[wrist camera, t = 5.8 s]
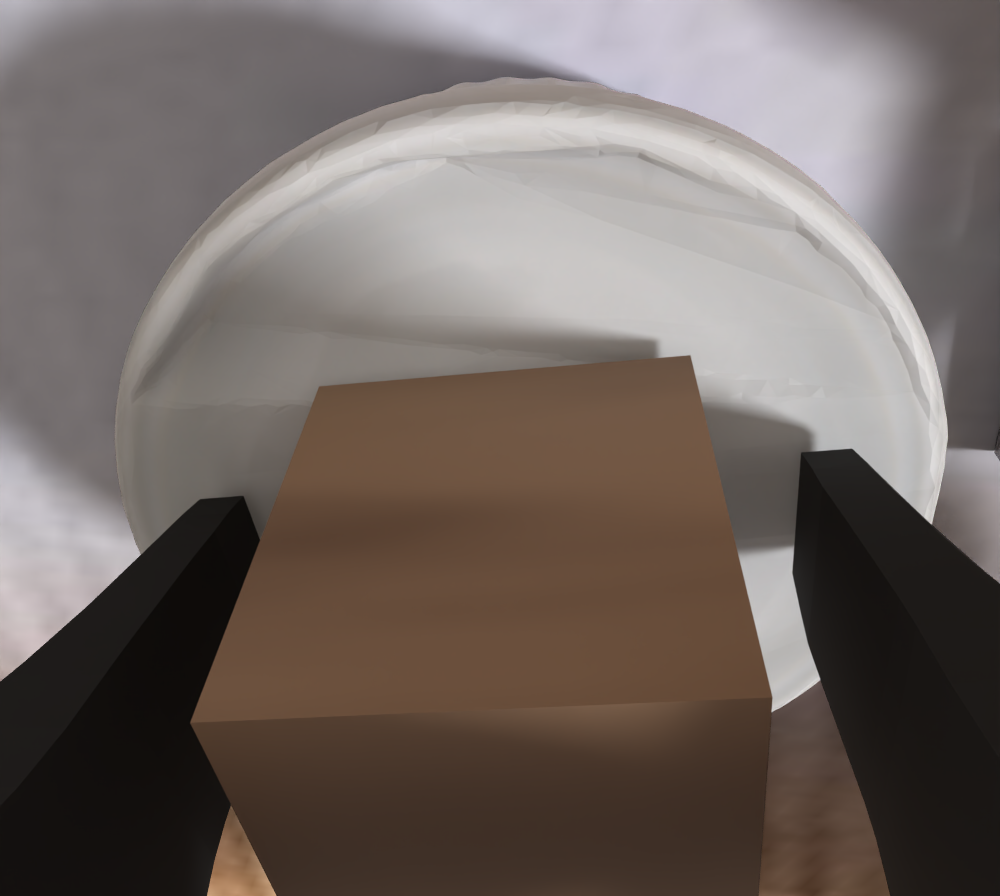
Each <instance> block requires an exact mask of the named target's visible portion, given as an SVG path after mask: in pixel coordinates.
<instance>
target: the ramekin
mask: <svg viewBox="0 0 1000 896" xmlns="http://www.w3.org/2000/svg"><path fill="white" fill-rule="evenodd" d="M687 355H691V360H692V364H693V368H694V372H695V376H696V380H697V385H698V389H699V393H700V397H701V401H702V405H703V410H704V414H705V418H706V422H707V426H708V430H709V435H710V439H711V443H712V447H713V451H714V455H715V460H716V464H717V468H718V472H719V476H720V480H721V485H722V489H723V493H724V497H725V501H726V505H727V510H728V514H729V518H730V522H731V526H732V530H733V535H734V539H735V543H736V547H737V551H738V555H739V560H740V564H741V568H742V572H743V576H744V580H745V585H746V589H747V593H748V597H749V601H750V605H751V610H752V614H753V618H754V622H755V626H756V630H757V635H758V639H759V643H760V647H761V651H762V655H763V660H764V664H765V668H766V672H767V676H768V680H769V685H770V689H771V693H772V697H773V699H772V712H773V711H775V710H777V709H779V708H781V707H782V706H784V705H786V704H787V703H789V702H790V701H792V700H793V699H795V698H796V697H798V696H799V695H801V694H802V693H804V692H805V691H807V690H808V689H809V688H811V687H812V686H813V685H815V684H816V683H817V682H818V681H820V677H819V674H818V671H817V669H816V666H815V663H814V660H813V657H812V654H811V651H810V649H809V646H808V642H807V638H806V633H805V629H804V625H803V620H802V616H801V612H800V607H799V602H798V598H797V593H796V588H795V584H794V579H793V574H792V569H793V556H794V542H795V528H796V514H797V501H798V487H799V473H800V459H801V452H813V451H826V450H839V449H853V450H854V451H855V452H856V453H858V454H859V455H860V456H861V457H862V458H863V459H864V460H865V461H866V462H867V463H868V464H869V465H870V466H871V467H872V468H873V469H874V470H875V471H876V472H877V473H878V474H879V475H880V476H881V477H882V478H883V479H885V480H886V481H887V482H888V483H889V484H890V485H891V486H892V487H893V488H894V489H895V490H896V491H897V492H898V493H899V494H900V495H901V496H902V497H903V498H904V499H905V500H906V501H907V502H908V503H909V504H910V505H911V506H912V507H913V508H915V509H916V510H917V511H918V512H919V513H920V514H921V515H922V516H923V517H924V518H925V519H926V520H927V521H928V522H929V523H931V524H932V521H933V517H934V513H935V508H936V504H937V500H938V496H939V492H940V487H941V482H942V477H943V472H944V467H945V455H946V448H947V441H948V429H947V417H946V411H945V406H944V399H943V393H942V387H941V383H940V379H939V375H938V371H937V366H936V362H935V359H934V356H933V352H932V349H931V346H930V343H929V340H928V337H927V335H926V333H925V330H924V328H923V326H922V324H921V321H920V319H919V317H918V315H917V313H916V310H915V308H914V306H913V304H912V302H911V300H910V298H909V296H908V295H907V293H906V291H905V289H904V288H903V286H902V284H901V282H900V280H899V279H898V277H897V276H896V274H895V272H894V271H893V269H892V268H891V266H890V265H889V263H888V262H887V260H886V259H885V257H884V256H883V254H882V253H881V252H880V250H879V249H878V247H877V246H876V245H875V244H874V243H873V242H872V240H871V239H870V238H869V237H868V236H867V234H866V233H865V232H864V231H863V230H862V228H861V227H860V226H859V225H858V224H857V222H856V221H855V220H854V219H853V218H852V217H851V216H850V215H849V214H848V213H847V212H846V211H845V210H844V209H843V208H842V207H841V206H840V205H839V204H838V203H837V202H836V201H835V200H834V199H833V198H832V197H831V196H830V195H829V194H828V193H827V192H826V191H825V190H824V189H823V188H822V187H821V186H820V185H819V184H818V183H816V182H815V181H814V180H813V179H811V178H810V177H809V176H807V175H806V174H805V173H804V172H802V171H801V170H800V169H799V168H797V167H796V166H794V165H793V164H791V163H790V162H788V161H787V160H785V159H784V158H783V157H781V156H780V155H778V154H776V153H775V152H773V151H772V150H770V149H768V148H766V147H765V146H763V145H761V144H759V143H757V142H756V141H754V140H752V139H750V138H749V137H747V136H745V135H743V134H741V133H739V132H737V131H735V130H733V129H731V128H729V127H727V126H725V125H723V124H720V123H718V122H715V121H713V120H710V119H708V118H705V117H703V116H700V115H698V114H695V113H693V112H690V111H688V110H685V109H682V108H678V107H675V106H671V105H668V104H664V103H661V102H657V101H654V100H650V99H647V98H644V97H642V96H640V95H638V94H631V93H623V92H618V91H614V90H611V89H609V88H607V87H605V86H602V85H600V84H598V83H593V82H578V81H567V80H562V79H557V78H551V77H546V78H536V79H521V78H513V77H501V78H497V79H493V80H489V81H486V82H478V83H473V82H466V83H459V84H456V85H454V86H452V87H450V88H448V89H446V90H444V91H440V92H436V93H431V94H423V95H419V96H417V97H413V98H410V99H406V100H403V101H399V102H395V103H392V104H388V105H384V106H381V107H379V108H376V109H373V110H371V111H368V112H366V113H363V114H361V115H358V116H356V117H353V118H351V119H348V120H346V121H343V122H341V123H339V124H337V125H335V126H333V127H331V128H329V129H327V130H325V131H323V132H322V133H320V134H318V135H316V136H314V137H312V138H311V139H309V140H307V141H305V142H304V143H302V144H300V145H299V146H297V147H295V148H294V149H292V150H290V151H289V152H287V153H285V154H284V155H282V156H280V157H279V158H277V159H275V160H274V161H272V162H271V163H269V164H268V165H267V166H265V167H264V168H263V169H262V170H260V171H259V172H258V173H257V174H255V175H254V176H253V177H251V178H250V179H249V180H248V181H247V182H246V183H244V184H243V185H242V186H241V187H240V188H239V189H237V190H236V191H235V192H234V193H233V194H231V195H230V196H229V197H228V198H227V199H226V200H224V201H223V202H222V203H221V205H220V206H219V207H218V208H217V209H216V210H215V211H214V212H213V213H212V214H211V215H210V216H209V218H208V219H207V220H206V221H205V222H204V223H203V224H202V225H201V226H200V227H199V228H198V230H197V231H196V232H195V233H194V234H193V235H192V236H191V238H190V239H189V240H188V242H187V243H186V244H185V246H184V247H183V248H182V250H181V251H180V252H179V254H178V255H177V256H176V258H175V259H174V260H173V262H172V263H171V265H170V266H169V268H168V270H167V271H166V273H165V274H164V276H163V278H162V279H161V281H160V282H159V284H158V286H157V287H156V289H155V291H154V293H153V295H152V296H151V298H150V300H149V302H148V304H147V305H146V307H145V309H144V311H143V313H142V316H141V318H140V320H139V322H138V324H137V327H136V329H135V331H134V334H133V337H132V340H131V342H130V345H129V348H128V350H127V354H126V358H125V362H124V366H123V370H122V373H121V378H120V385H119V391H118V398H117V405H116V413H115V438H114V440H115V452H116V464H117V475H118V480H119V485H120V491H121V496H122V502H123V507H124V510H125V513H126V517H127V519H128V522H129V525H130V527H131V530H132V533H133V536H134V539H135V542H136V545H137V547H138V549H139V551H140V553H141V554H142V553H143V552H144V551H145V550H146V549H147V548H148V547H149V546H150V545H151V544H152V543H154V542H155V541H156V540H157V539H158V538H159V537H160V536H161V535H162V534H163V533H164V532H165V531H166V530H167V529H168V528H169V527H170V526H171V525H172V524H173V523H174V522H175V521H176V520H177V519H178V518H179V517H180V516H182V515H183V514H184V513H185V512H186V511H187V510H188V509H189V508H190V507H191V506H193V505H194V504H195V503H196V502H197V501H198V500H200V499H208V498H221V497H233V496H244V498H245V501H246V504H247V506H248V509H249V512H250V514H251V517H252V520H253V522H254V525H255V528H256V530H257V533H258V536H259V538H260V539H261V537H262V534H263V531H264V529H265V526H266V524H267V521H268V518H269V516H270V513H271V511H272V508H273V505H274V503H275V500H276V497H277V495H278V492H279V490H280V487H281V484H282V482H283V479H284V477H285V474H286V471H287V469H288V466H289V464H290V461H291V458H292V456H293V453H294V451H295V448H296V445H297V443H298V440H299V437H300V435H301V432H302V430H303V427H304V424H305V422H306V419H307V417H308V414H309V411H310V409H311V406H312V404H313V401H314V398H315V396H316V393H317V391H318V388H319V386H329V385H341V384H353V383H365V382H377V381H389V380H401V379H413V378H425V377H437V376H449V375H460V374H472V373H484V372H496V371H508V370H520V369H532V368H544V367H556V366H568V365H580V364H592V363H604V362H615V361H627V360H639V359H651V358H663V357H675V356H687Z"/></svg>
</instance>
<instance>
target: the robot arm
mask: <svg viewBox="0 0 1000 896" xmlns="http://www.w3.org/2000/svg"><path fill="white" fill-rule="evenodd" d="M259 542H260V538H259V536H258V533H257V530H256V528H255V525H254V522H253V520H252V517H251V514H250V512H249V509H248V506H247V504H246V501H245V498H244V496H233V497H221V498H208V499H200V500H198V501H197V502H196V503H195V504H194V505H193V506H191V507H190V508H189V509H188V510H187V511H186V512H185V513H184V514H183V515H182V516H180V517H179V518H178V519H177V520H176V521H175V522H174V523H173V524H172V525H171V526H170V527H169V528H168V529H167V530H166V531H165V532H164V533H163V534H162V535H161V536H160V537H159V538H158V539H157V540H156V541H155V542H154V543H152V544H151V545H150V546H149V547H148V548H147V549H146V550H145V551H144V552H143V553H142V554H141V555H140V556H139V557H138V558H137V559H136V560H135V561H134V562H133V563H132V564H131V565H130V566H129V567H128V568H127V569H126V570H125V571H124V572H123V573H122V574H121V575H119V576H118V577H117V578H116V579H115V580H114V581H113V582H112V583H111V584H110V585H109V586H108V587H107V588H106V589H105V590H104V591H103V592H102V593H101V594H100V595H99V596H98V597H97V598H95V599H94V600H93V601H92V602H91V603H90V604H89V605H88V606H87V607H86V608H85V609H84V610H83V611H81V612H80V613H79V614H78V615H77V616H76V617H75V618H74V619H72V620H71V621H70V622H69V623H68V624H67V625H66V626H64V627H63V628H62V629H61V630H60V631H59V632H58V633H57V634H55V635H54V636H53V637H52V638H51V639H50V640H49V641H48V642H46V643H45V644H44V645H43V646H42V647H41V648H40V649H38V650H37V651H36V652H35V653H34V654H33V655H32V656H31V657H29V658H28V659H27V660H26V661H25V662H24V663H22V664H21V665H20V666H19V667H18V668H16V669H15V670H14V671H13V672H12V673H10V674H9V675H8V676H7V677H5V678H4V679H3V680H2V681H0V896H207V892H208V888H209V883H210V878H211V874H212V869H213V864H214V860H215V856H216V853H217V849H218V846H219V842H220V839H221V835H222V831H223V828H224V824H225V821H226V818H227V815H228V812H229V809H230V806H231V803H230V801H229V799H228V797H227V795H226V793H225V791H224V789H223V787H222V785H221V783H220V781H219V779H218V777H217V775H216V773H215V771H214V769H213V767H212V765H211V763H210V761H209V759H208V757H207V755H206V753H205V751H204V749H203V747H202V745H201V744H200V742H199V740H198V738H197V736H196V734H195V732H194V730H193V728H192V726H191V724H190V722H191V719H192V717H193V714H194V711H195V709H196V706H197V704H198V701H199V698H200V696H201V693H202V690H203V688H204V685H205V683H206V680H207V677H208V675H209V672H210V670H211V667H212V664H213V662H214V659H215V657H216V654H217V651H218V649H219V646H220V644H221V641H222V638H223V636H224V633H225V630H226V628H227V625H228V623H229V620H230V617H231V615H232V612H233V610H234V607H235V604H236V602H237V599H238V597H239V594H240V591H241V589H242V586H243V584H244V581H245V578H246V576H247V573H248V571H249V568H250V565H251V563H252V560H253V557H254V555H255V552H256V550H257V547H258V544H259ZM792 574H793V579H794V584H795V588H796V593H797V598H798V602H799V607H800V612H801V616H802V620H803V625H804V629H805V633H806V638H807V642H808V646H809V649H810V651H811V654H812V657H813V660H814V663H815V666H816V669H817V671H818V674H819V677H820V680H821V683H822V685H823V688H824V691H825V694H826V697H827V700H828V702H829V705H830V708H831V711H832V713H833V716H834V719H835V722H836V724H837V727H838V730H839V733H840V735H841V738H842V741H843V744H844V746H845V749H846V752H847V755H848V758H849V760H850V763H851V766H852V769H853V771H854V774H855V777H856V780H857V782H858V785H859V788H860V791H861V793H862V796H863V799H864V802H865V805H866V808H867V811H868V814H869V818H870V821H871V824H872V827H873V830H874V834H875V837H876V840H877V844H878V848H879V852H880V856H881V860H882V864H883V868H884V872H885V876H886V880H887V884H888V888H889V892H890V896H1000V584H999V583H998V582H997V581H996V580H995V579H993V578H992V577H991V576H990V575H989V574H987V573H986V572H985V571H984V570H983V569H981V568H980V567H979V566H978V565H977V564H975V563H974V562H973V561H972V560H971V559H970V558H969V557H968V556H966V555H965V554H964V553H963V552H962V551H961V550H960V549H958V548H957V547H956V546H955V545H954V544H953V543H952V542H951V541H949V540H948V539H947V538H946V537H945V536H944V535H943V534H941V533H940V532H939V531H938V530H937V529H936V528H935V527H934V526H933V525H932V524H931V523H929V522H928V521H927V520H926V519H925V518H924V517H923V516H922V515H921V514H920V513H919V512H918V511H917V510H916V509H915V508H913V507H912V506H911V505H910V504H909V503H908V502H907V501H906V500H905V499H904V498H903V497H902V496H901V495H900V494H899V493H898V492H897V491H896V490H895V489H894V488H893V487H892V486H891V485H890V484H889V483H888V482H887V481H886V480H885V479H883V478H882V477H881V476H880V475H879V474H878V473H877V472H876V471H875V470H874V469H873V468H872V467H871V466H870V465H869V464H868V463H867V462H866V461H865V460H864V459H863V458H862V457H861V456H860V455H859V454H858V453H856V452H855V451H854V450H853V449H839V450H826V451H813V452H801V459H800V473H799V487H798V501H797V514H796V528H795V542H794V556H793V569H792Z"/></svg>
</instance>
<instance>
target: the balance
mask: <svg viewBox="0 0 1000 896" xmlns="http://www.w3.org/2000/svg"><path fill="white" fill-rule="evenodd" d="M994 453H995V454H996V456H997V457H998V459H999V460H1000V429H999V434H998V438H997V443H996V447H995V452H994Z"/></svg>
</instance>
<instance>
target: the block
mask: <svg viewBox="0 0 1000 896" xmlns="http://www.w3.org/2000/svg"><path fill="white" fill-rule="evenodd" d="M772 699H773V697H772V693H771V689H770V685H769V680H768V676H767V672H766V668H765V664H764V660H763V655H762V651H761V647H760V643H759V639H758V635H757V630H756V626H755V622H754V618H753V614H752V610H751V605H750V601H749V597H748V593H747V589H746V585H745V580H744V576H743V572H742V568H741V564H740V560H739V555H738V551H737V547H736V543H735V539H734V535H733V530H732V526H731V522H730V518H729V514H728V510H727V505H726V501H725V497H724V493H723V489H722V485H721V480H720V476H719V472H718V468H717V464H716V460H715V455H714V451H713V447H712V443H711V439H710V435H709V430H708V426H707V422H706V418H705V414H704V410H703V405H702V401H701V397H700V393H699V389H698V385H697V380H696V376H695V372H694V368H693V364H692V360H691V355H687V356H675V357H663V358H651V359H639V360H627V361H615V362H604V363H592V364H580V365H568V366H556V367H544V368H532V369H520V370H508V371H496V372H484V373H472V374H460V375H449V376H437V377H425V378H413V379H401V380H389V381H377V382H365V383H353V384H341V385H329V386H319V388H318V391H317V393H316V396H315V398H314V401H313V404H312V406H311V409H310V411H309V414H308V417H307V419H306V422H305V424H304V427H303V430H302V432H301V435H300V437H299V440H298V443H297V445H296V448H295V451H294V453H293V456H292V458H291V461H290V464H289V466H288V469H287V471H286V474H285V477H284V479H283V482H282V484H281V487H280V490H279V492H278V495H277V497H276V500H275V503H274V505H273V508H272V511H271V513H270V516H269V518H268V521H267V524H266V526H265V529H264V531H263V534H262V537H261V539H260V542H259V544H258V547H257V550H256V552H255V555H254V557H253V560H252V563H251V565H250V568H249V571H248V573H247V576H246V578H245V581H244V584H243V586H242V589H241V591H240V594H239V597H238V599H237V602H236V604H235V607H234V610H233V612H232V615H231V617H230V620H229V623H228V625H227V628H226V630H225V633H224V636H223V638H222V641H221V644H220V646H219V649H218V651H217V654H216V657H215V659H214V662H213V664H212V667H211V670H210V672H209V675H208V677H207V680H206V683H205V685H204V688H203V690H202V693H201V696H200V698H199V701H198V704H197V706H196V709H195V711H194V714H193V717H192V719H191V722H190V724H191V726H192V728H193V730H194V732H195V734H196V736H197V738H198V740H199V742H200V744H201V745H202V747H203V749H204V751H205V753H206V755H207V757H208V759H209V761H210V763H211V765H212V767H213V769H214V771H215V773H216V775H217V777H218V779H219V781H220V783H221V785H222V787H223V789H224V791H225V793H226V795H227V797H228V799H229V801H230V803H231V805H232V807H233V809H234V811H235V813H236V815H237V817H238V819H239V821H240V823H241V825H242V827H243V829H244V831H245V833H246V835H247V837H248V839H249V841H250V843H251V845H252V847H253V849H254V851H255V853H256V855H257V857H258V859H259V861H260V863H261V865H262V867H263V869H264V871H265V873H266V875H267V877H268V879H269V881H270V883H271V885H272V887H273V889H274V891H275V893H276V895H277V896H758V895H759V881H760V867H761V853H762V839H763V825H764V811H765V797H766V783H767V769H768V755H769V741H770V727H771V713H772Z"/></svg>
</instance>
